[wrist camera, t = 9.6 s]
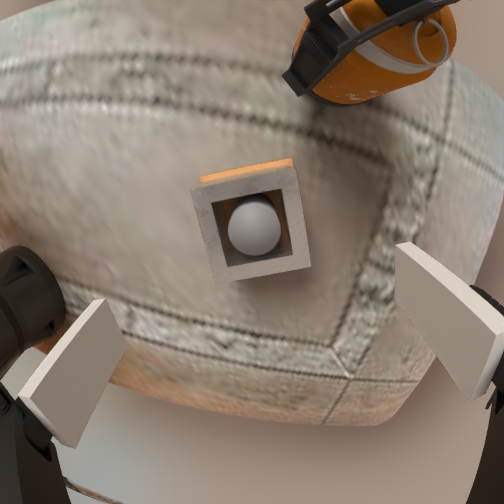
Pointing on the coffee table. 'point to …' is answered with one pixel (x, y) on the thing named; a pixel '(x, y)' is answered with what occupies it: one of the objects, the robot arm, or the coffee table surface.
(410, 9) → the canister
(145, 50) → the coffee table surface
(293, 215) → the grey hollow block
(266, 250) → the block
